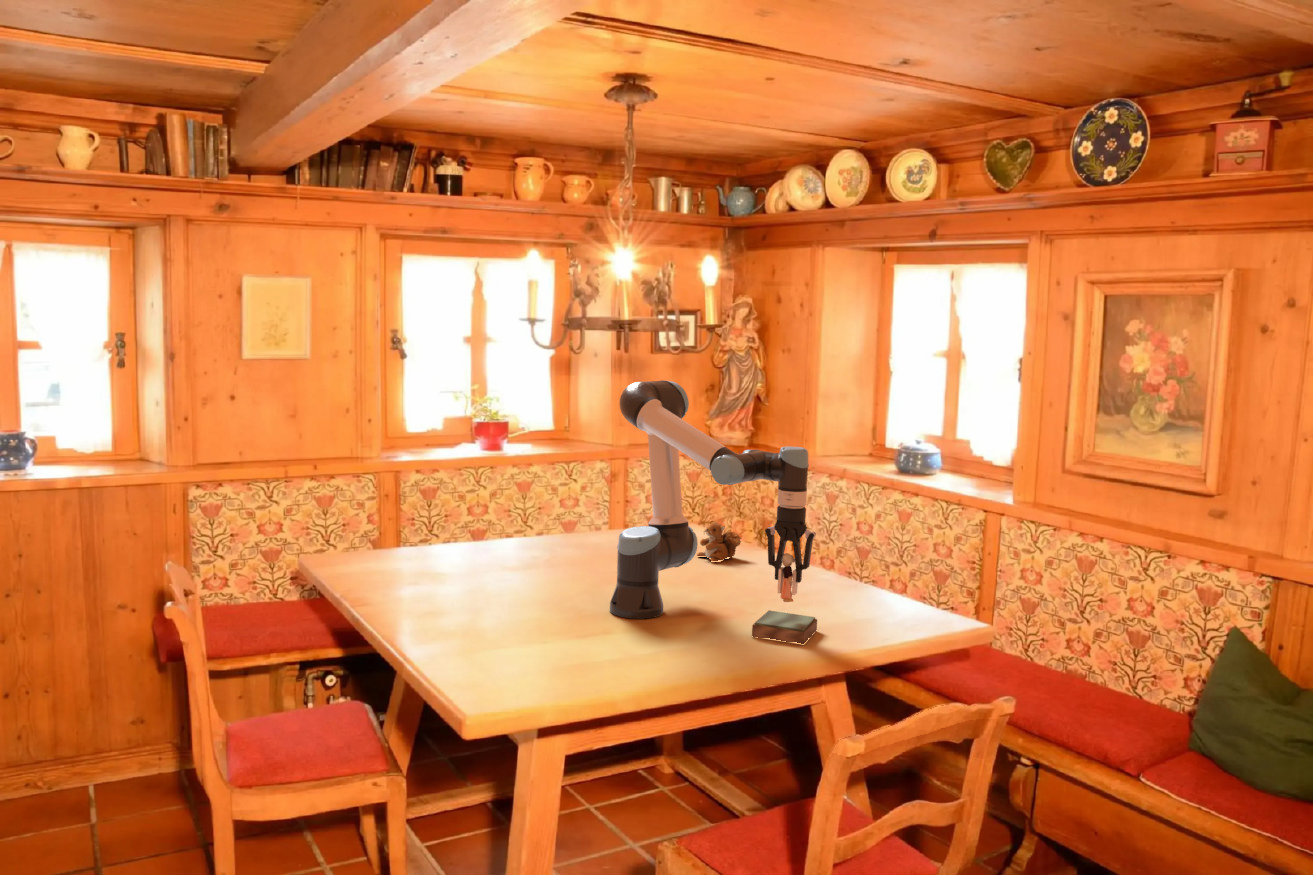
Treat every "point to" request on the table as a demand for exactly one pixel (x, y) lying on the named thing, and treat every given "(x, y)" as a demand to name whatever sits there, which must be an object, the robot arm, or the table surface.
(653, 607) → the robot arm
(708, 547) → the stuffed squirrel
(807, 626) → the sage green square panel
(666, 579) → the table surface
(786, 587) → the grandmother figurine
